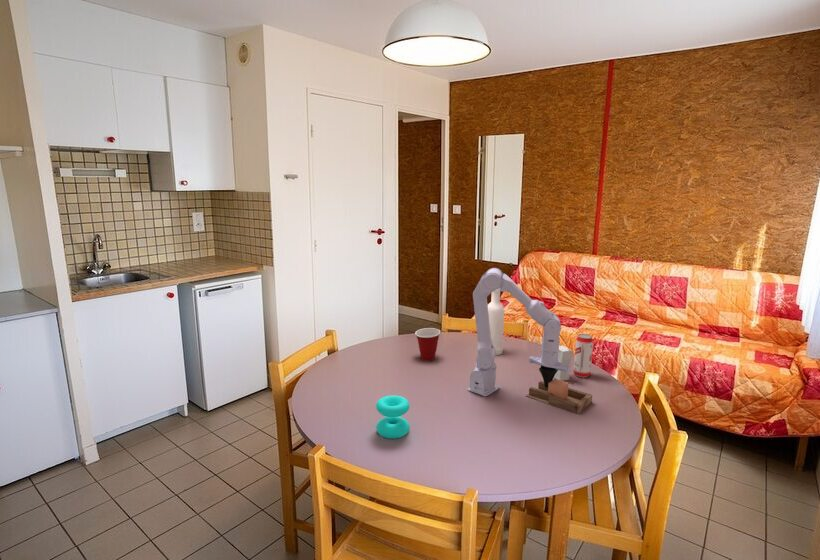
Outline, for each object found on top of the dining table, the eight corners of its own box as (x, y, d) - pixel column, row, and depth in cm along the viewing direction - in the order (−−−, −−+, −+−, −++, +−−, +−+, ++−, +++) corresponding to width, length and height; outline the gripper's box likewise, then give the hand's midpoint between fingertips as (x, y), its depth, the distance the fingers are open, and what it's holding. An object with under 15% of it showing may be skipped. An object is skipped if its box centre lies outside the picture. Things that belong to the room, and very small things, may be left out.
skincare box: (550, 375, 184) (552, 345, 182) (560, 374, 185) (562, 344, 183) (560, 381, 178) (562, 351, 176) (570, 380, 180) (572, 350, 177)
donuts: (394, 412, 134) (369, 402, 140) (394, 444, 136) (369, 432, 142) (416, 400, 141) (391, 390, 148) (416, 430, 143) (391, 420, 150)
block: (561, 402, 161) (562, 387, 159) (547, 397, 164) (548, 383, 163) (567, 397, 164) (568, 382, 163) (553, 393, 167) (555, 378, 166)
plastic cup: (410, 355, 204) (410, 329, 202) (432, 352, 209) (433, 326, 206) (421, 364, 195) (421, 336, 192) (444, 360, 199) (445, 333, 197)
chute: (578, 414, 154) (579, 406, 153) (525, 396, 166) (526, 388, 166) (591, 402, 162) (592, 394, 161) (540, 386, 174) (540, 379, 174)
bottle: (505, 351, 210) (508, 285, 204) (498, 356, 203) (501, 289, 197) (488, 348, 214) (490, 283, 208) (481, 353, 207) (483, 286, 201)
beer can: (587, 372, 187) (591, 333, 184) (592, 378, 181) (595, 339, 178) (571, 371, 188) (574, 333, 184) (575, 378, 182) (578, 338, 178)
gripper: (575, 352, 161) (572, 389, 164) (536, 342, 171) (534, 377, 174) (566, 357, 156) (563, 395, 159) (526, 347, 166) (524, 383, 169)
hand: (547, 386), depth 166 cm, fingers closed
